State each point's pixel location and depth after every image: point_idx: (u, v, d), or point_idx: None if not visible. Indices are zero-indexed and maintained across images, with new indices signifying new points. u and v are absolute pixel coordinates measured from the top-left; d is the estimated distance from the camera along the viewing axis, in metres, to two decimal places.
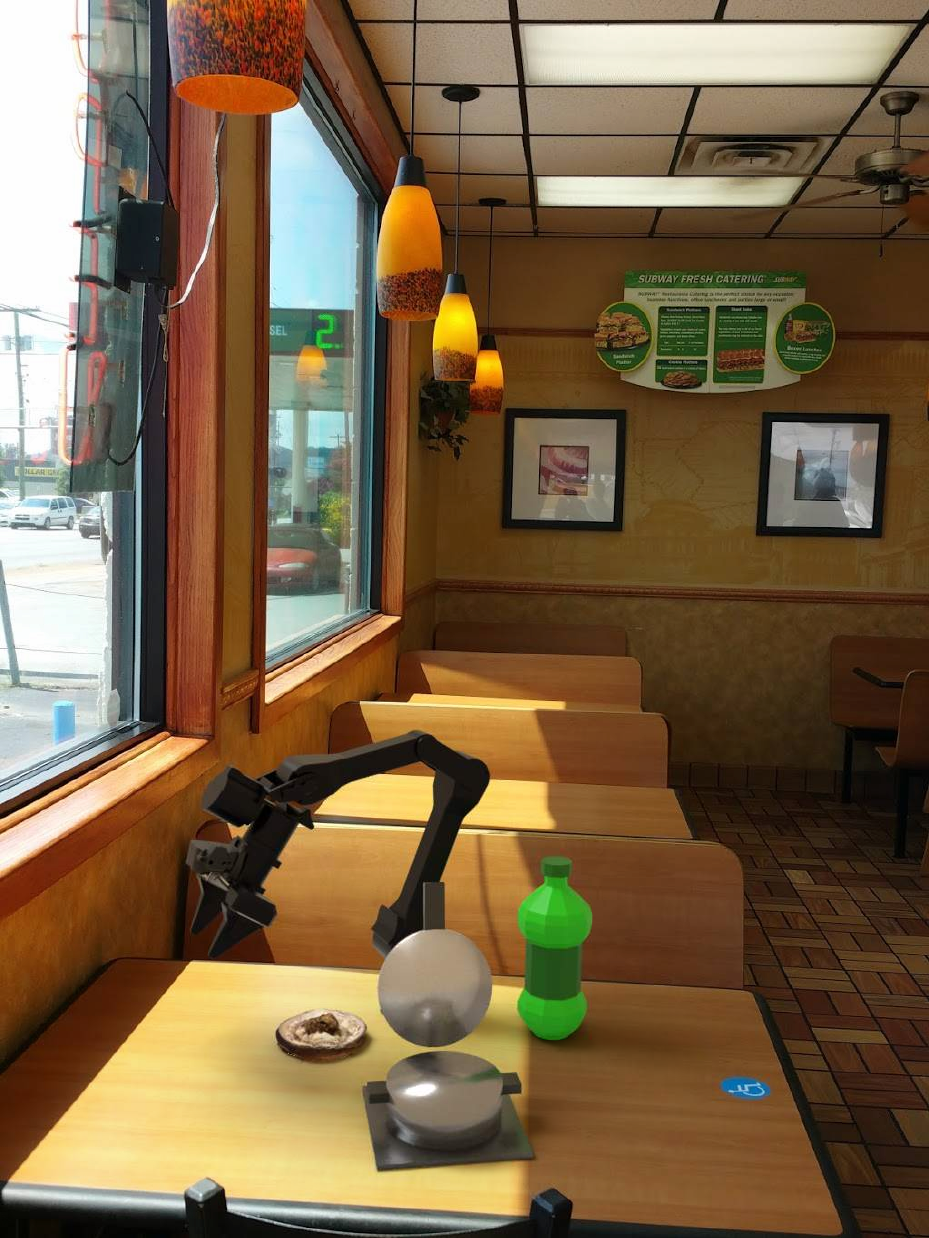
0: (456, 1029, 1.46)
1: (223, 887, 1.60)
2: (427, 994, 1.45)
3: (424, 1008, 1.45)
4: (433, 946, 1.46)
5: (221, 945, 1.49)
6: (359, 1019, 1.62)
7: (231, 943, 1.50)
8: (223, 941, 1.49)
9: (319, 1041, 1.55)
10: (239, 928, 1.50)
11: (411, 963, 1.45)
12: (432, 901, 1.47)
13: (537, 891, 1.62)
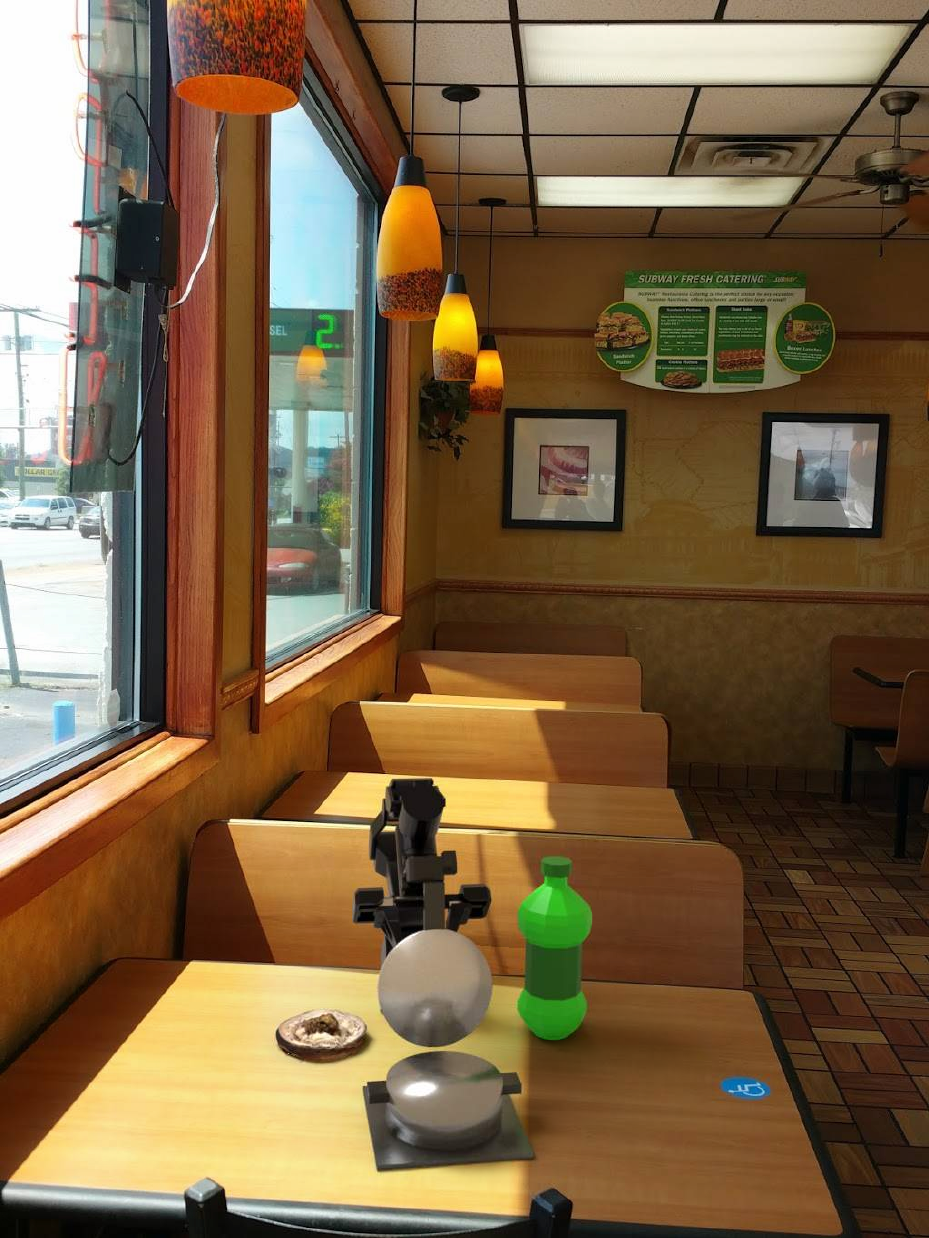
0: (456, 1029, 1.46)
1: None
2: (427, 994, 1.45)
3: (424, 1008, 1.45)
4: (433, 946, 1.46)
5: None
6: (359, 1019, 1.62)
7: None
8: None
9: (319, 1041, 1.55)
10: None
11: (411, 963, 1.45)
12: (432, 901, 1.47)
13: (537, 891, 1.62)
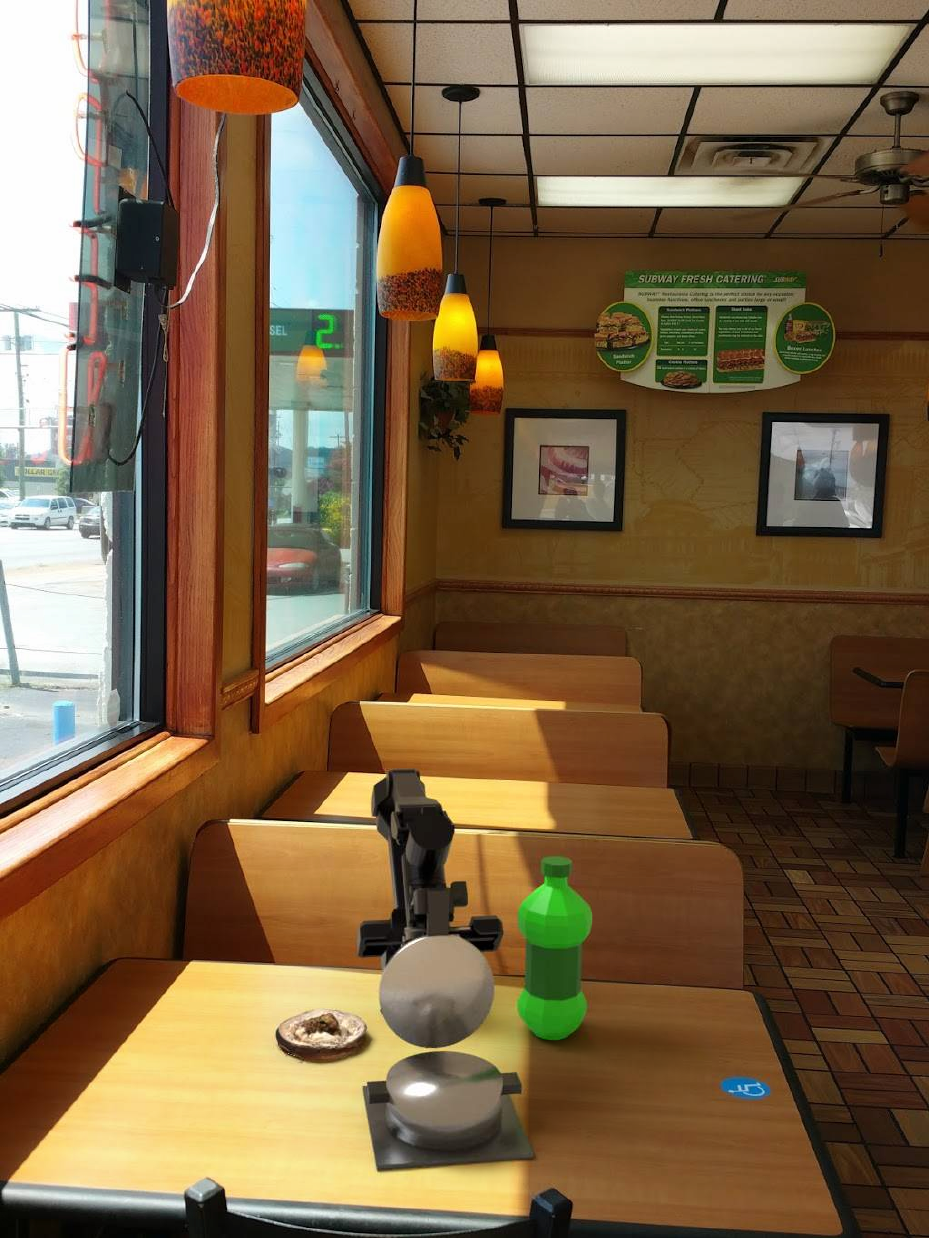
0: (456, 1031, 1.45)
1: None
2: (428, 998, 1.44)
3: (425, 1011, 1.44)
4: (436, 952, 1.44)
5: None
6: (359, 1019, 1.62)
7: None
8: None
9: (319, 1041, 1.55)
10: None
11: (413, 969, 1.43)
12: (436, 908, 1.44)
13: (537, 891, 1.62)
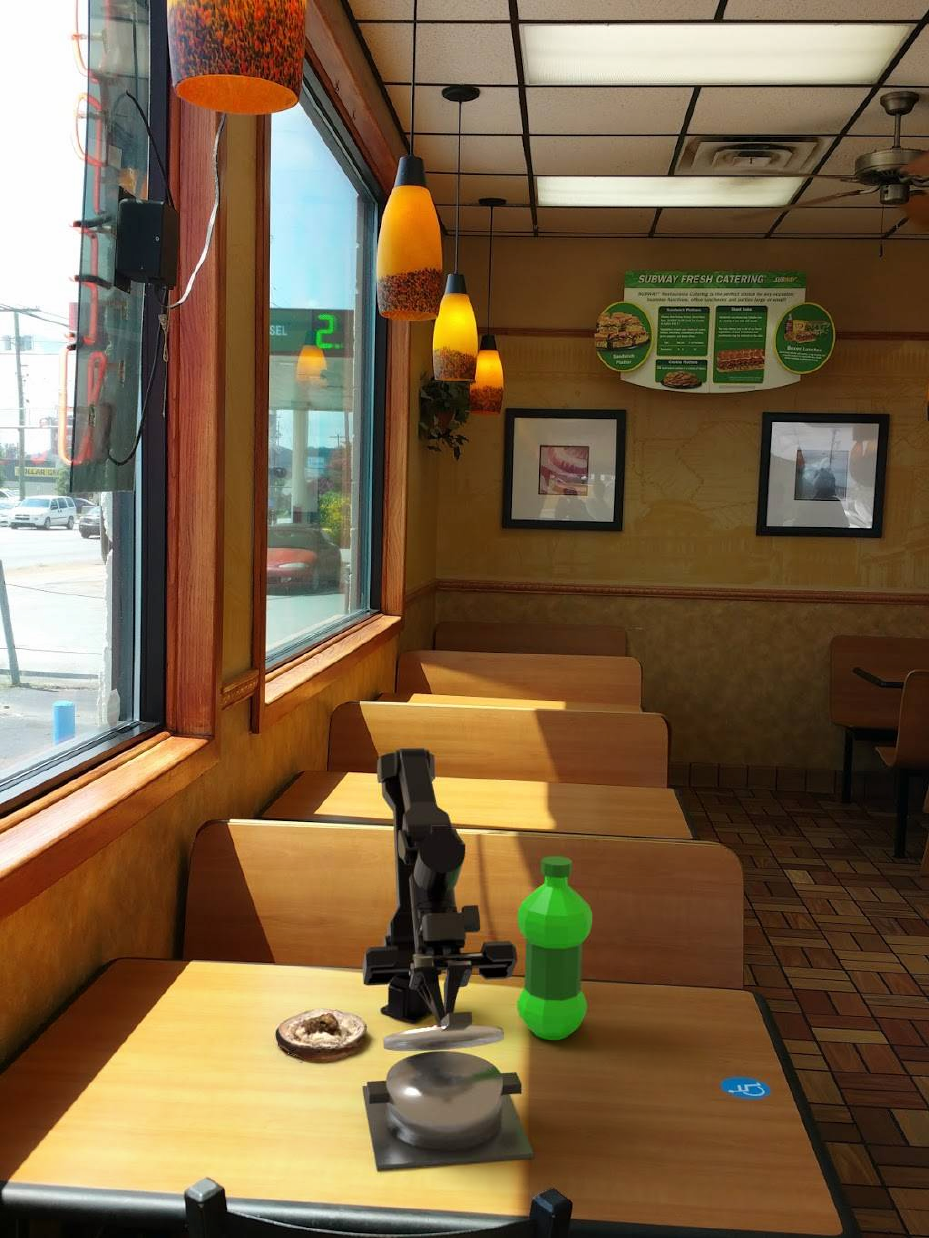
0: (458, 1047, 1.44)
1: None
2: (434, 1044, 1.39)
3: (429, 1046, 1.41)
4: (448, 1037, 1.34)
5: None
6: (359, 1019, 1.62)
7: None
8: None
9: (319, 1041, 1.55)
10: None
11: (422, 1041, 1.35)
12: (455, 1026, 1.30)
13: (537, 891, 1.62)
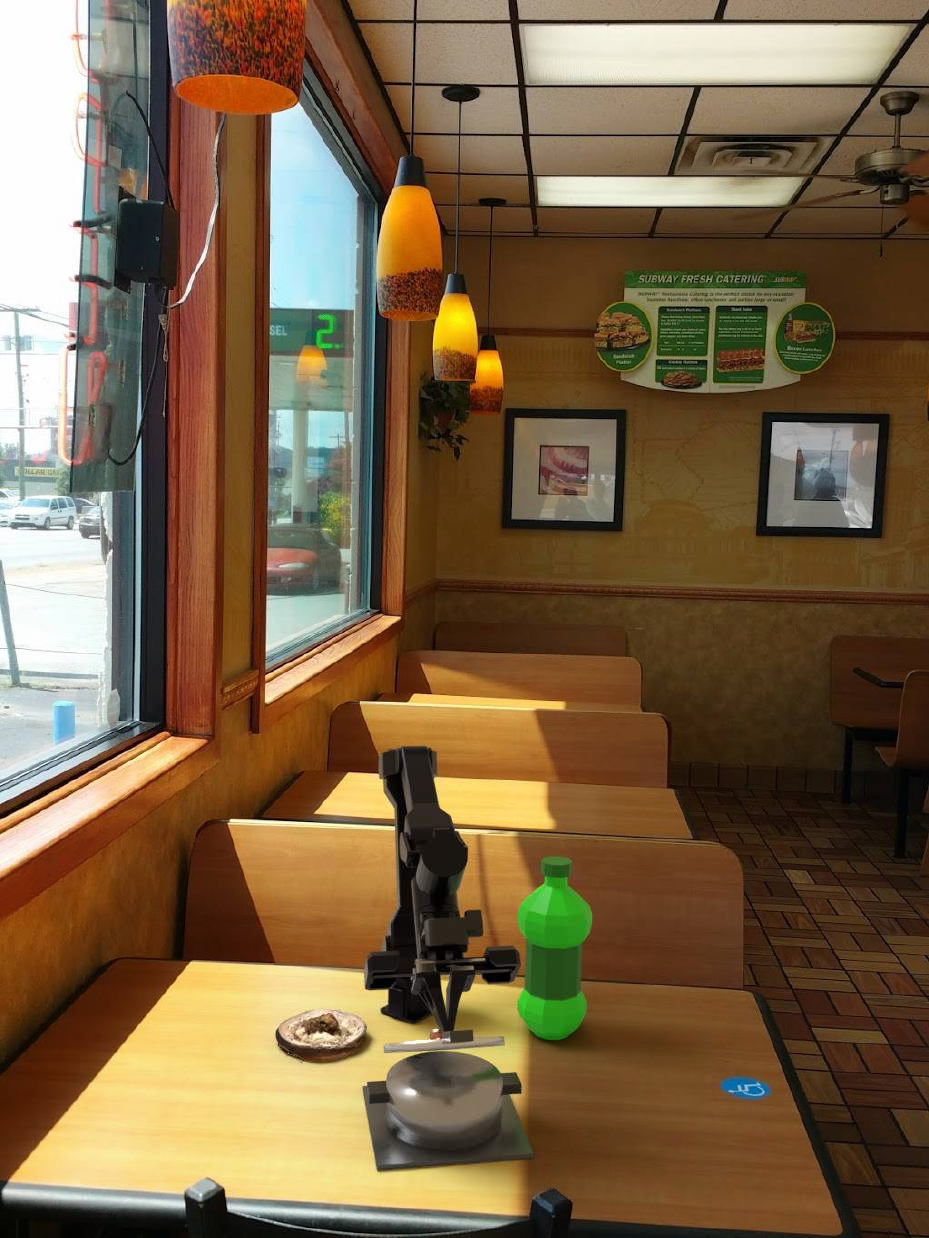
0: None
1: None
2: None
3: (429, 1050, 1.41)
4: (448, 1048, 1.34)
5: None
6: (359, 1019, 1.62)
7: None
8: None
9: (319, 1041, 1.55)
10: None
11: None
12: (456, 1042, 1.29)
13: (537, 891, 1.62)
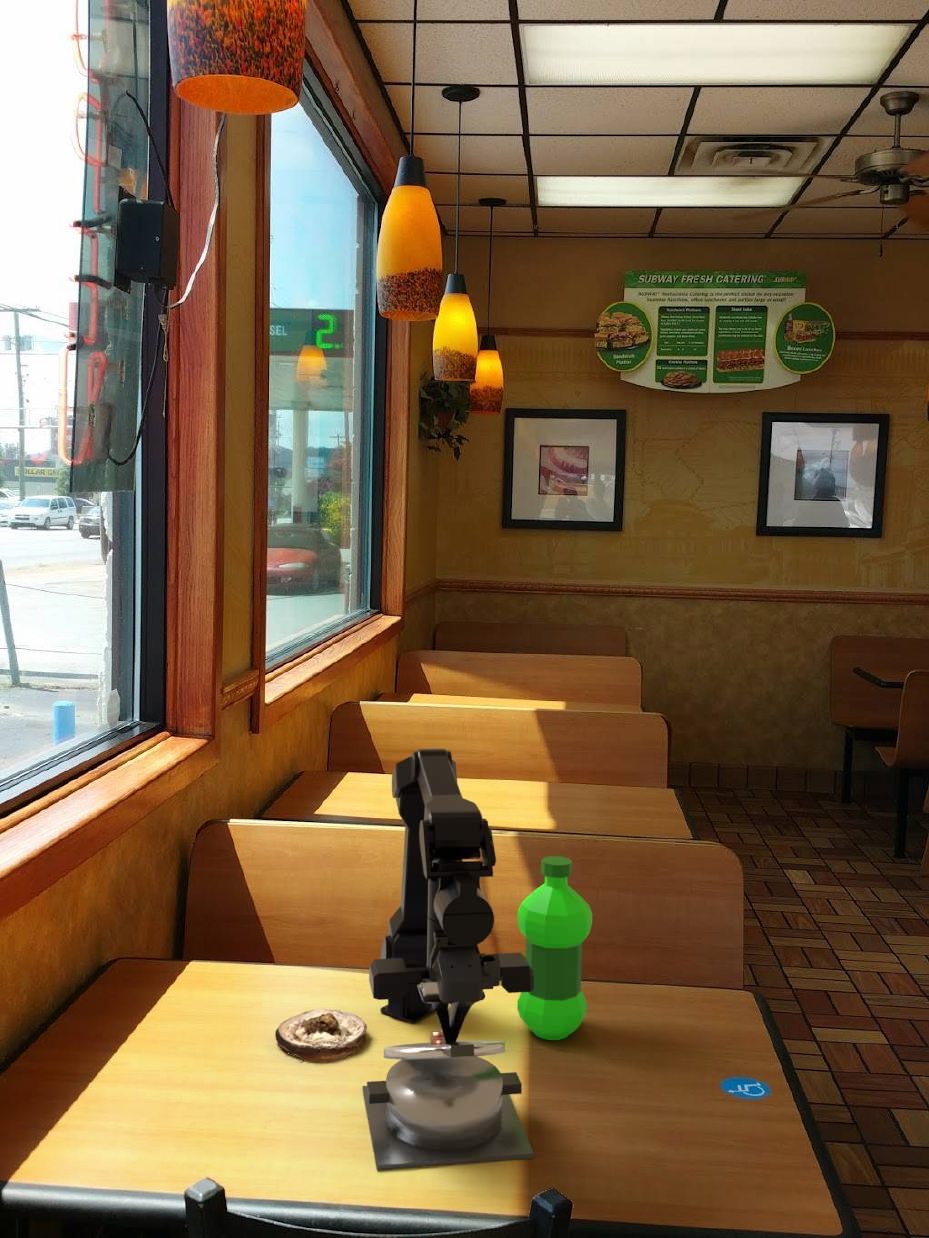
0: None
1: None
2: None
3: None
4: None
5: None
6: (359, 1019, 1.62)
7: None
8: None
9: (319, 1041, 1.55)
10: None
11: None
12: None
13: (537, 891, 1.62)
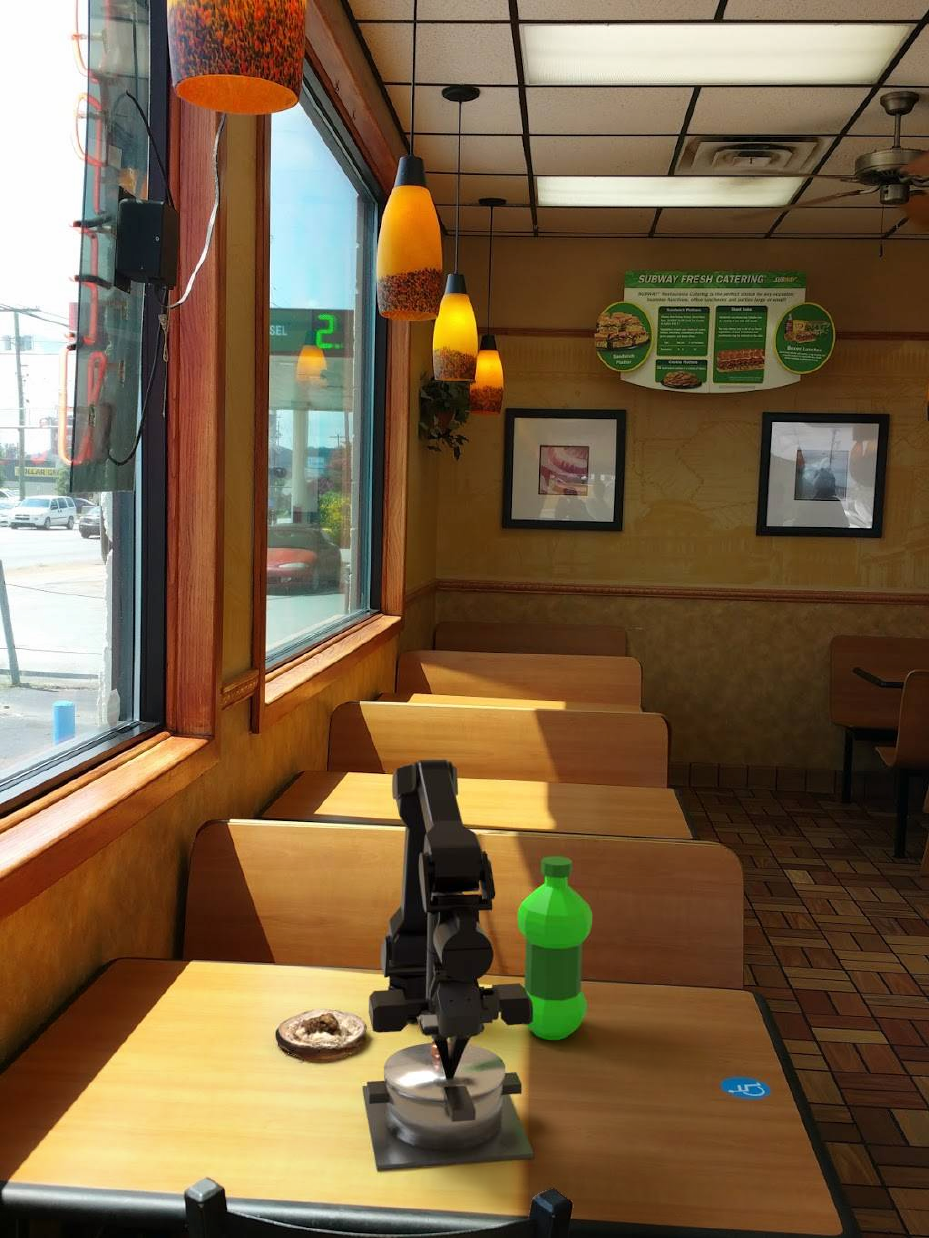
0: None
1: None
2: None
3: None
4: None
5: None
6: (359, 1019, 1.62)
7: None
8: None
9: (319, 1041, 1.55)
10: None
11: None
12: None
13: (537, 891, 1.62)
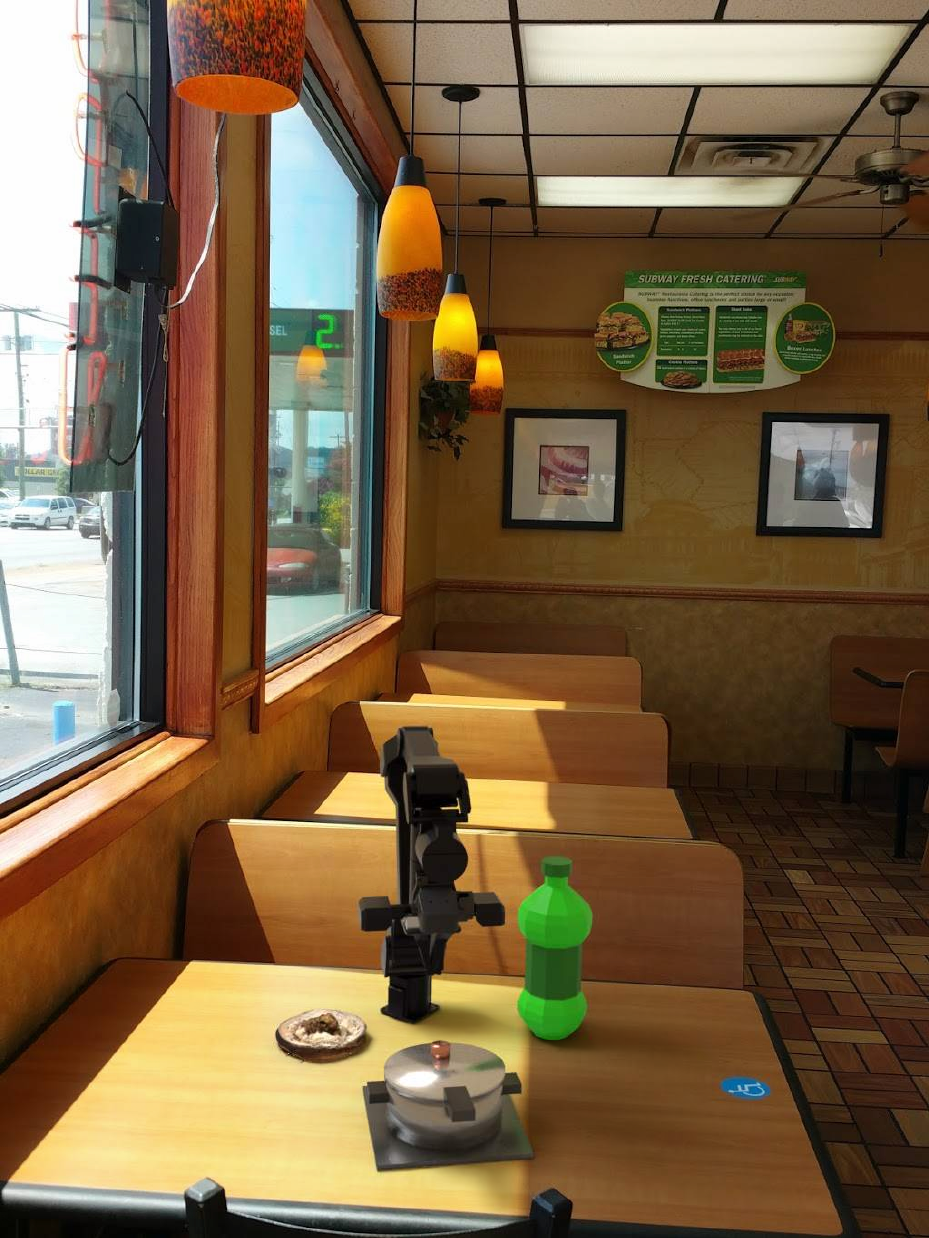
0: None
1: None
2: None
3: None
4: None
5: None
6: (358, 1018, 1.62)
7: None
8: None
9: (319, 1041, 1.55)
10: None
11: None
12: None
13: (537, 891, 1.62)
